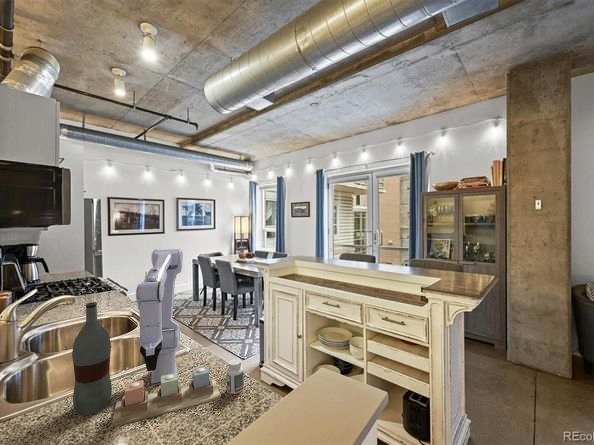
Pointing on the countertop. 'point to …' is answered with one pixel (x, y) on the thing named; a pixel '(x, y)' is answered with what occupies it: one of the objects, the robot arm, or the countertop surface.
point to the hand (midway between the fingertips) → (151, 369)
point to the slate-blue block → (200, 377)
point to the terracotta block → (134, 393)
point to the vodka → (91, 366)
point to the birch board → (164, 402)
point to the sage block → (169, 385)
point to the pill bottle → (235, 377)
